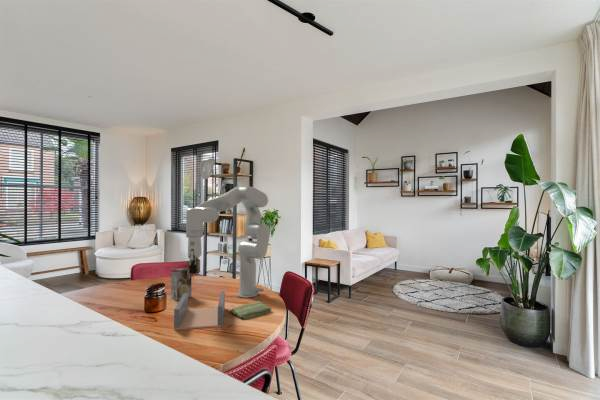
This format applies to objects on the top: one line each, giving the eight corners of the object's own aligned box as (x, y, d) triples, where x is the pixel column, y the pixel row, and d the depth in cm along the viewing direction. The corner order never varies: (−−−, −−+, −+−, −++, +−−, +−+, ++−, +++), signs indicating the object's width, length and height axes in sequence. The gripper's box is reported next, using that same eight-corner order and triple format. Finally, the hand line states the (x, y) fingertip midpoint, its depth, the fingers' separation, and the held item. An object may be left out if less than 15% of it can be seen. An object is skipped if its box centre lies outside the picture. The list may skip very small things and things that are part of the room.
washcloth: (228, 313, 153) (228, 306, 153) (259, 305, 164) (259, 299, 164) (241, 321, 142) (241, 314, 142) (273, 313, 153) (273, 306, 153)
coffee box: (185, 294, 180) (185, 267, 180) (191, 296, 176) (192, 268, 176) (170, 298, 172) (170, 269, 172) (176, 300, 168) (177, 271, 168)
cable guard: (224, 309, 158) (224, 291, 158) (222, 327, 135) (222, 306, 135) (183, 311, 154) (183, 293, 154) (173, 330, 131) (174, 309, 131)
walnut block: (200, 271, 150) (200, 259, 150) (198, 273, 145) (198, 261, 145) (189, 271, 149) (189, 259, 149) (187, 274, 144) (187, 261, 144)
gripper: (199, 235, 139) (199, 275, 139) (205, 231, 156) (204, 267, 156) (182, 236, 138) (182, 276, 138) (189, 231, 155) (189, 268, 155)
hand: (194, 271), depth 147 cm, fingers closed on walnut block, 5 cm apart
